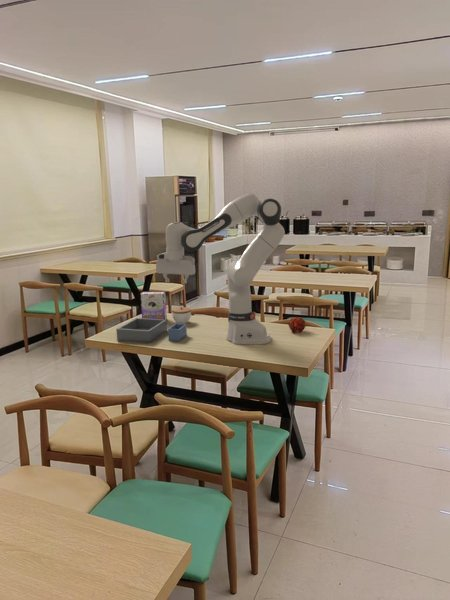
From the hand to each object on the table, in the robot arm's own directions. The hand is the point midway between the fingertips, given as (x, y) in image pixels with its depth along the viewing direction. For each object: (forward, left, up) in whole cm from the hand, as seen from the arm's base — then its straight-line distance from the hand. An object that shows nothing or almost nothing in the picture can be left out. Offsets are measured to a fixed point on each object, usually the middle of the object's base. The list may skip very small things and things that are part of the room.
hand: (176, 282), depth 234 cm
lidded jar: (+8, -27, -29) cm, 41 cm away
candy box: (+26, -29, -29) cm, 49 cm away
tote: (0, +1, -28) cm, 28 cm away
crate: (+19, +1, -28) cm, 34 cm away
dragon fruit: (-58, -23, -29) cm, 68 cm away
